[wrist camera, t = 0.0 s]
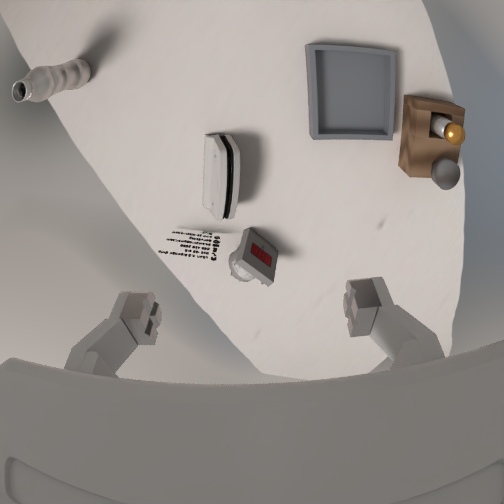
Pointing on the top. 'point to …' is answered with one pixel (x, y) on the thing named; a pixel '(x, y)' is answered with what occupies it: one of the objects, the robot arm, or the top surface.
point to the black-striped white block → (221, 176)
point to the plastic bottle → (51, 80)
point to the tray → (350, 92)
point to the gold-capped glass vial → (447, 129)
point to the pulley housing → (429, 142)
